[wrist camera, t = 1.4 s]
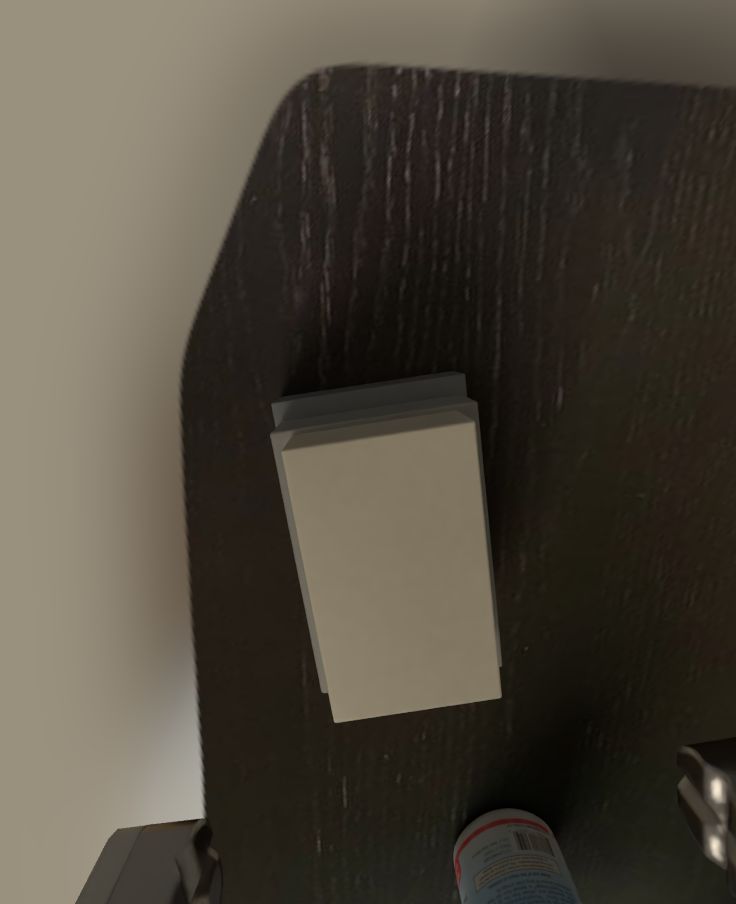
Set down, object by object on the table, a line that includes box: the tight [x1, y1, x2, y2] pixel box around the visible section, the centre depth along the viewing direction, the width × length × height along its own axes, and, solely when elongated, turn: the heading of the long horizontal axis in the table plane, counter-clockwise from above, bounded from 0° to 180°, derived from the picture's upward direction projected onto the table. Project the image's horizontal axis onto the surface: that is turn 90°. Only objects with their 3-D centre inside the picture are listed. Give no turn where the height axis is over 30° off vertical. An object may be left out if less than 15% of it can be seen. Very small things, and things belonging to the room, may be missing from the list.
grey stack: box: [270, 371, 502, 693], centre depth 20 cm, size 12×8×5 cm, turn 8°
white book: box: [281, 410, 502, 723], centre depth 16 cm, size 10×6×2 cm, turn 8°
